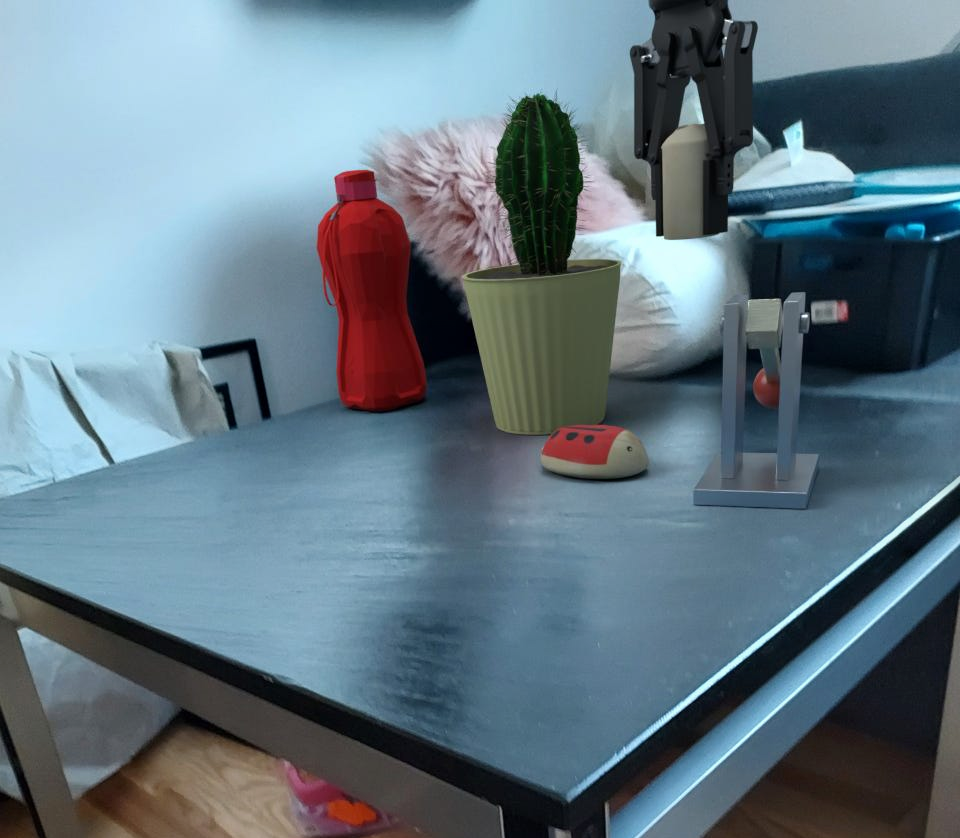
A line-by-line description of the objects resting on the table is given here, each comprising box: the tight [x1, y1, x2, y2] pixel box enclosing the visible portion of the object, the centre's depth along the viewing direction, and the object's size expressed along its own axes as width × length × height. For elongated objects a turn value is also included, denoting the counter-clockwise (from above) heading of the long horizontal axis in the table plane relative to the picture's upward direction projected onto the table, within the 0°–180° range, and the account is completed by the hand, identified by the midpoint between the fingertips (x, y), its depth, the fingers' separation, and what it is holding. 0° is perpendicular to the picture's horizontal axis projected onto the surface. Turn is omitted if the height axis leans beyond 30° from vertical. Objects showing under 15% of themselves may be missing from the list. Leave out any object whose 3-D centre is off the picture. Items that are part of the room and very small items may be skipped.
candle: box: [661, 123, 720, 241], centre depth 93 cm, size 6×6×10 cm
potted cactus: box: [461, 88, 622, 436], centre depth 92 cm, size 15×15×30 cm
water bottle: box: [316, 169, 428, 413], centre depth 107 cm, size 9×11×25 cm
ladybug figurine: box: [540, 424, 650, 480], centre depth 80 cm, size 7×10×4 cm
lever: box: [745, 298, 784, 410], centre depth 73 cm, size 14×4×4 cm
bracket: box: [692, 291, 820, 510], centre depth 70 cm, size 10×8×14 cm
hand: (691, 233), depth 95 cm, fingers closed on candle, 5 cm apart
